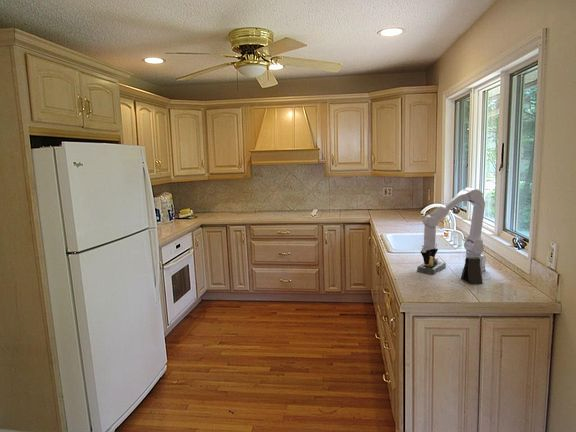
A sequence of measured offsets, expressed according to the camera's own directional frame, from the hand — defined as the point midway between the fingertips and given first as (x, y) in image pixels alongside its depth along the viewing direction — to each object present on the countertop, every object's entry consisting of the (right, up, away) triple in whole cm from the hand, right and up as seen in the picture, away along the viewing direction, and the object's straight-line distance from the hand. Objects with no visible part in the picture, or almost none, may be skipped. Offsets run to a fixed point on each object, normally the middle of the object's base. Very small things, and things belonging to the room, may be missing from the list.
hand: (428, 262), depth 211 cm
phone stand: (+15, -7, -17) cm, 24 cm away
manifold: (+3, -4, +4) cm, 6 cm away
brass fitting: (0, -4, +1) cm, 4 cm away
